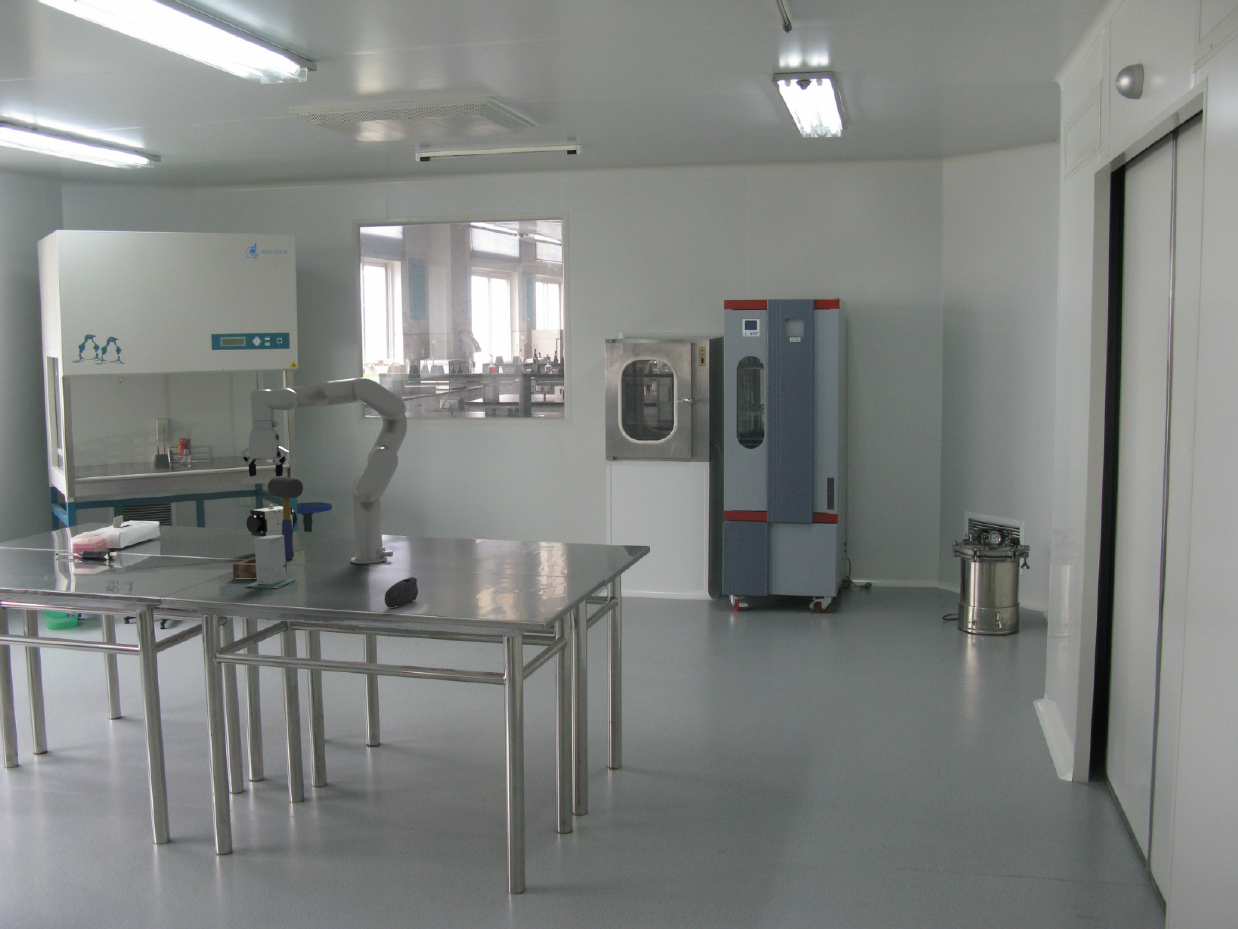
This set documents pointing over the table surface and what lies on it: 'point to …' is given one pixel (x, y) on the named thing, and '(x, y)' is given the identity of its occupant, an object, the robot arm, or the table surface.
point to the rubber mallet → (286, 506)
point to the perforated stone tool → (401, 592)
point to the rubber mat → (271, 585)
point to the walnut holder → (246, 568)
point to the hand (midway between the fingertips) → (266, 476)
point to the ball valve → (268, 521)
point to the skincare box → (270, 559)
